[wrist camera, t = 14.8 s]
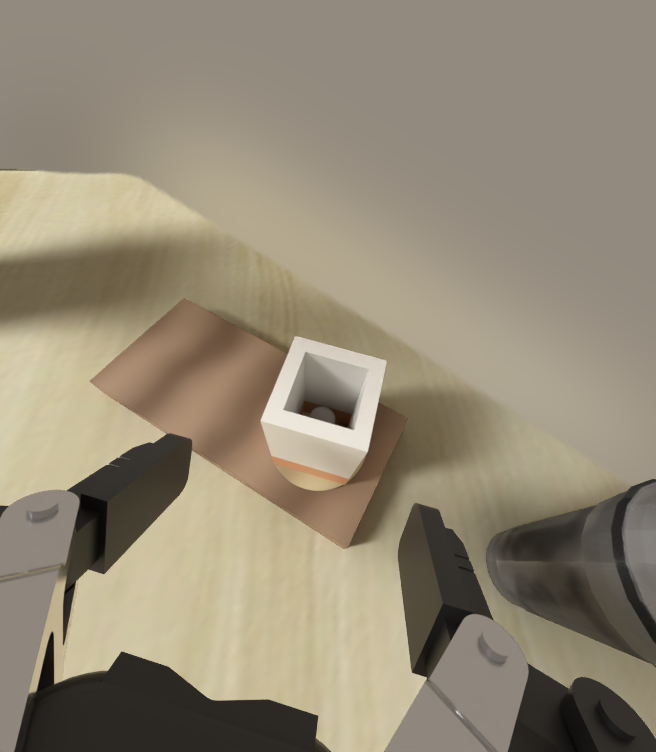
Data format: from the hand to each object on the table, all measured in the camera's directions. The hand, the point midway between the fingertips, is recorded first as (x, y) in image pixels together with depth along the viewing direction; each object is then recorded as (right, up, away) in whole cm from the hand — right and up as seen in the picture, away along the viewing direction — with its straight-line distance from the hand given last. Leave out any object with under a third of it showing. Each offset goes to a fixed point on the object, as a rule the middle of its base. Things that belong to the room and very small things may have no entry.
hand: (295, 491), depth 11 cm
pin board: (-5, +1, +14) cm, 15 cm away
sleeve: (0, 0, +11) cm, 11 cm away
